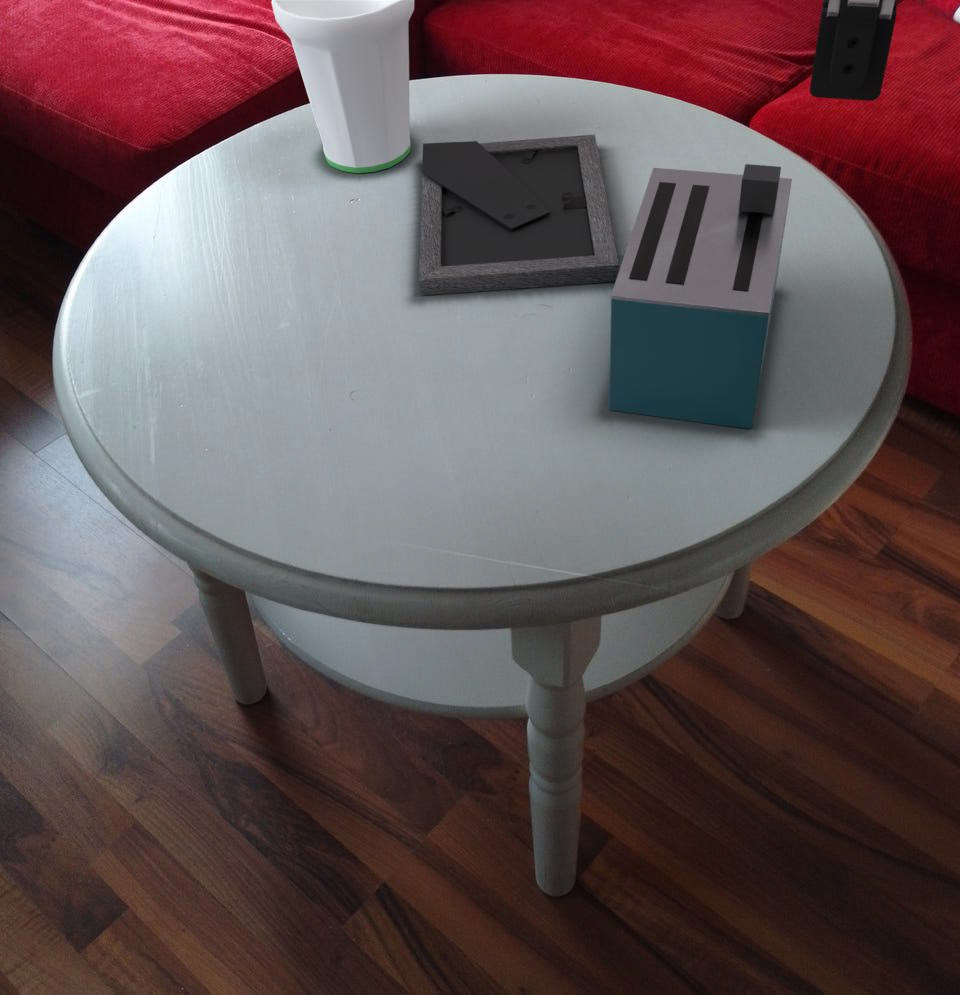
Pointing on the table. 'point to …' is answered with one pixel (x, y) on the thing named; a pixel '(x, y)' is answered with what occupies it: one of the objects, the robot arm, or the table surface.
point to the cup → (354, 76)
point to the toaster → (695, 300)
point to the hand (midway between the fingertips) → (844, 90)
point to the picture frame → (514, 216)
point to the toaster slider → (759, 188)
